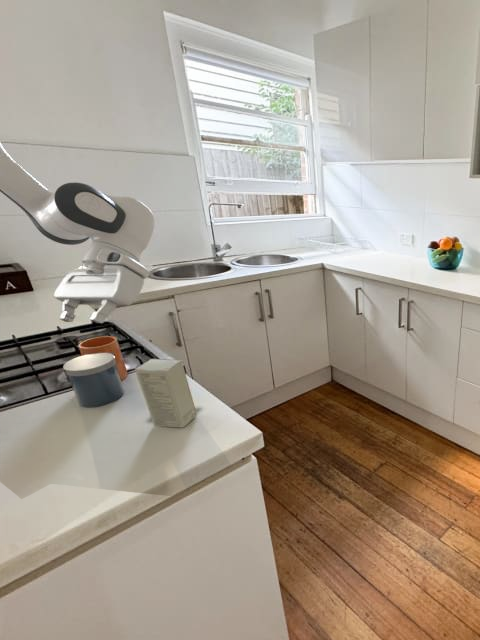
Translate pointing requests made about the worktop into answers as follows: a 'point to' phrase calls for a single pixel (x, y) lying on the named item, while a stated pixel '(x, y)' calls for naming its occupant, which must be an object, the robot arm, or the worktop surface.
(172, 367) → the cosmetic box
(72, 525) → the worktop surface
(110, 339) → the cup
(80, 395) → the jar
